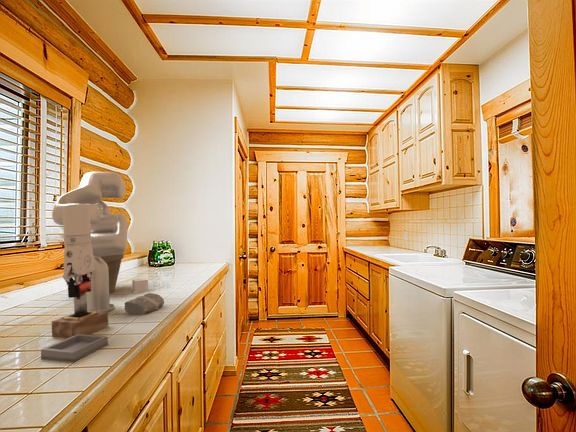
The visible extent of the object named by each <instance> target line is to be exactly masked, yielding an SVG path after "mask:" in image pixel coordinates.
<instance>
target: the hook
mask: <svg viewBox="0 0 576 432" xmlns="http://www.w3.org/2000/svg"><path fill="white" fill-rule="evenodd" d="M77 285H79V291H80V296H79V297H73V310H74V311H73V312H74V313H73V314H74V316H75V317H78V318H80V317H83V316H86V315H87V291H88V290H90V289H91V286H90V281H80V282H78V284H77Z"/></svg>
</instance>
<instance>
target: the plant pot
mask: <svg viewBox="0 0 576 432" xmlns="http://www.w3.org/2000/svg"><path fill="white" fill-rule="evenodd" d="M124 253H125V252H124ZM124 253H123V254H121V255H113V256H102V257H101V258H102V259H103V260H104V261H105V262H106V264H107V265H108V274H109V294H112V293H113V292H114V291H115V289H116V285H117V282H118V277H119V273H120V268H121V265H122V260H123V259H124ZM74 275H75V274H74ZM73 279H74V280H75V278H73ZM80 280H81V276H79V279H78V282H80Z"/></svg>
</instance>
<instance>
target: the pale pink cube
mask: <svg viewBox="0 0 576 432" xmlns="http://www.w3.org/2000/svg"><path fill="white" fill-rule="evenodd" d="M131 280H132V292H133V293H134V292H135V293H134V294H140V293H144V292H149V280H148V279H147V278H145V277H142V278H136V279H131Z"/></svg>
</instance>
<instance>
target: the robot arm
mask: <svg viewBox="0 0 576 432" xmlns="http://www.w3.org/2000/svg"><path fill="white" fill-rule="evenodd" d="M126 189H127V187H126V184H125V182H124V179H123V178H122V177H121V175H120V174H119V173H117V172H115V171H90V172H89V171H88V172H86V173H85V174H84V175H83V176H82V178H81V180H80V183H79V184H78V187H77V188H75V189H73V190H70V191H69V192H66V193H64V194H62V195H60V197H59V198H57V200H56V201H55V203H54V205H53V207H52V208H53V209H52V212H51V213H52V214H51V217H52V220H53V222H54V223H55V224H56V225H58V226H63V244H64V245H63V247H64V250H63V275H62V279H64V281H65V282H66V286H67V293H68V294H67V295H68V298H69V299H70V298H71V299H72V298H74V297H79V296H80V291H79V285H77V284H78V279H79V276H81V280H80V281H90V286H91V289H90V290H88V291H87V311H98V312H108V313H109V312H110V311H112V310H114V309H115V304H112V303H110V293H109V274H108V265H107V264H106V262H105V261H104V260H103V259H102V258H101V257H102V256H113V255H121V254H123V253H126V251H127V247H128V230H129V229H128V226H129V225H128V224H129V223H128V220H127V218H126V215H123V214H121V213H111V209H110V207H109V205H108V204H107V203H105V202H104V201H103V200H101V199H122V198H123V197H124V196H125V195H126V191H127V190H126ZM74 274H75V275H74ZM74 278H75V279H74Z"/></svg>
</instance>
